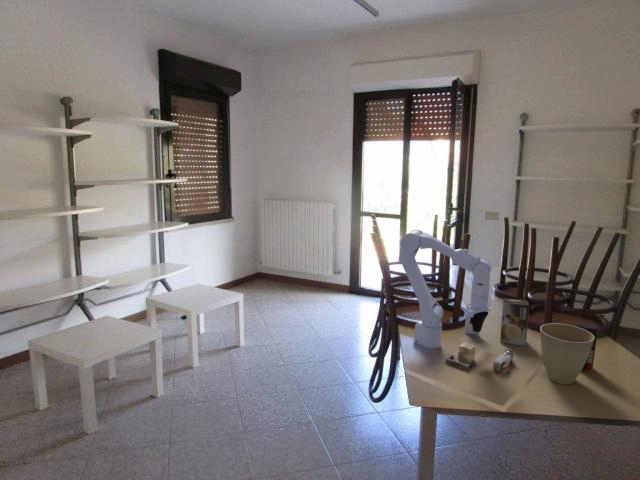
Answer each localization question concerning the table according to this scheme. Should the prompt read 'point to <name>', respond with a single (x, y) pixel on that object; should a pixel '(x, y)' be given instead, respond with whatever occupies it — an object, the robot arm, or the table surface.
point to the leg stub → (466, 352)
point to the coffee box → (514, 321)
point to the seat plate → (480, 364)
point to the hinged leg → (503, 360)
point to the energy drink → (469, 326)
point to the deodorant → (594, 330)
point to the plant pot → (564, 350)
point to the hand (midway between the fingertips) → (476, 331)
